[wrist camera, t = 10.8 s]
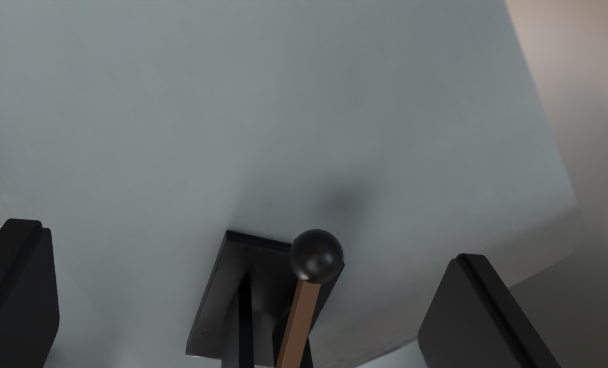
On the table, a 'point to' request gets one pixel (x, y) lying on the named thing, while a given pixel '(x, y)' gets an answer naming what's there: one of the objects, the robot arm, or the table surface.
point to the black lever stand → (249, 304)
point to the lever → (307, 288)
